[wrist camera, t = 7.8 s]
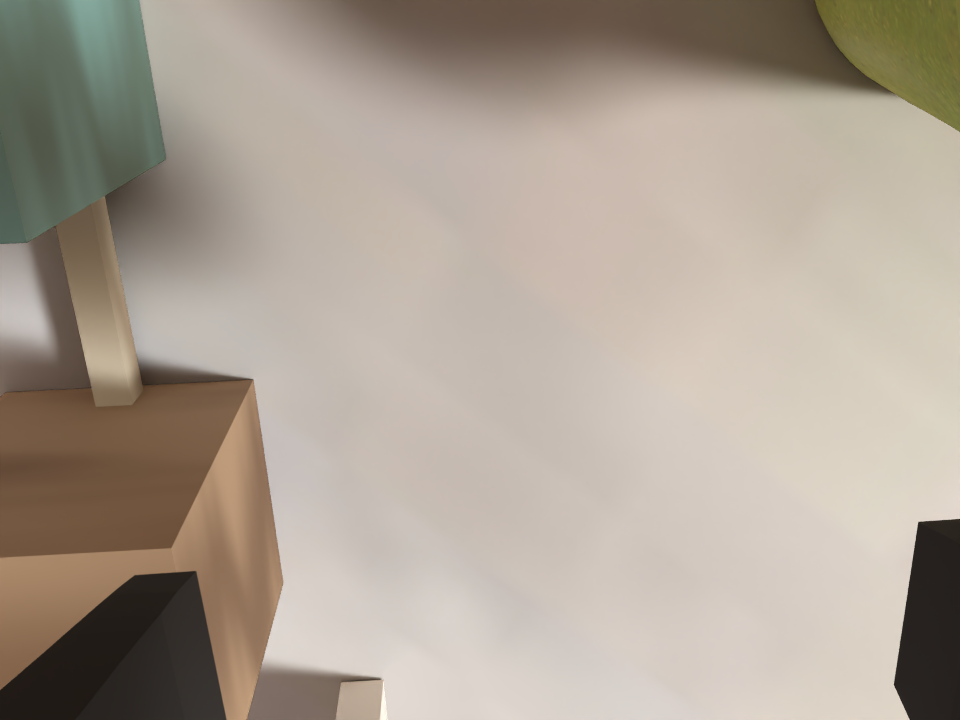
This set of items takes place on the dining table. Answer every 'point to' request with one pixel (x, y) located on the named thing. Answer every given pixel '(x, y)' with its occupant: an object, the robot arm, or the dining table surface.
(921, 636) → the robot arm
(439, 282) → the dining table surface
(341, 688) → the shelf lane
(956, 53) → the plant pot
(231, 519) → the tethered block
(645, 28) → the dining table surface
